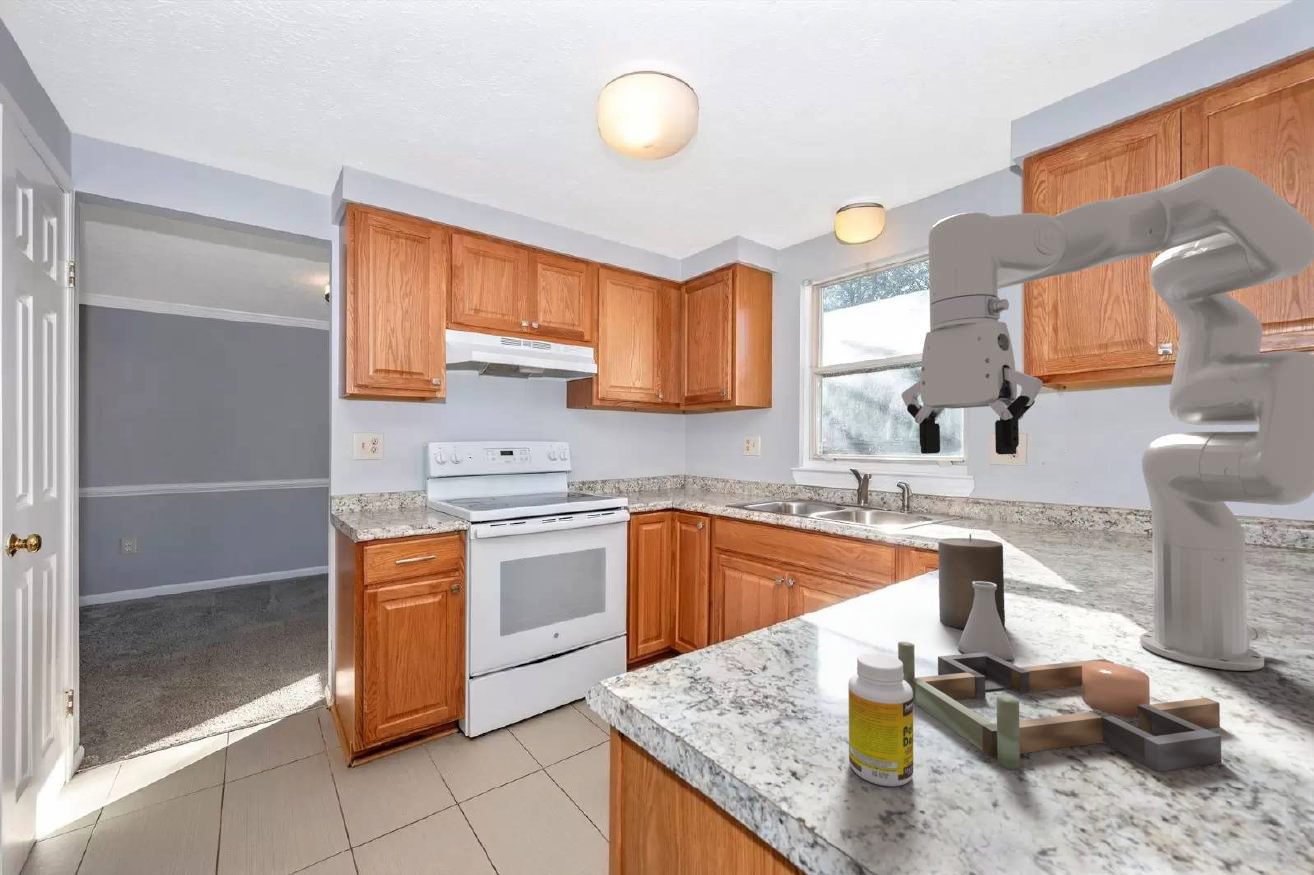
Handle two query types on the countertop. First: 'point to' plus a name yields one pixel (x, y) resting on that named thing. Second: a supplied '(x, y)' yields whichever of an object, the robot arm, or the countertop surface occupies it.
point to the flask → (985, 625)
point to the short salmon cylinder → (1114, 688)
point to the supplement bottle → (881, 721)
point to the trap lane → (1158, 741)
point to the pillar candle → (968, 576)
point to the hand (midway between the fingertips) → (966, 453)
